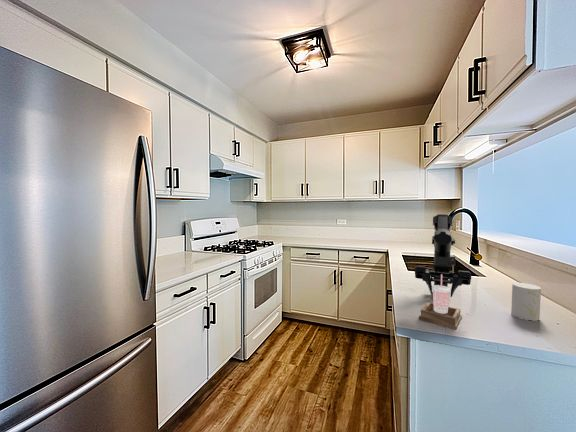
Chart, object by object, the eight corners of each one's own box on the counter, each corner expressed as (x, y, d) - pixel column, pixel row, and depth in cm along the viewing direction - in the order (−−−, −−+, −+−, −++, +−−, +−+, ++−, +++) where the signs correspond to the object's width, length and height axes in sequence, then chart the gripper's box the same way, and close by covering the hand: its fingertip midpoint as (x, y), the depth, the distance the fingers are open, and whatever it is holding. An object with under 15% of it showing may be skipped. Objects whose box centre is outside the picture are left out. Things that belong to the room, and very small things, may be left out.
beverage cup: (454, 313, 97) (455, 276, 97) (440, 315, 96) (441, 277, 95) (440, 307, 103) (441, 271, 102) (427, 308, 102) (428, 272, 101)
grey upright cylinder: (529, 322, 97) (531, 290, 96) (505, 313, 104) (507, 283, 104) (545, 319, 99) (546, 288, 98) (520, 311, 107) (522, 281, 106)
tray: (427, 309, 108) (427, 301, 108) (461, 318, 100) (462, 309, 100) (418, 319, 99) (418, 310, 99) (456, 329, 91) (456, 319, 91)
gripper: (415, 246, 106) (412, 280, 98) (471, 250, 97) (473, 288, 88) (416, 261, 114) (413, 294, 105) (469, 266, 104) (470, 303, 95)
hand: (441, 294), depth 98 cm, fingers closed on beverage cup, 6 cm apart
